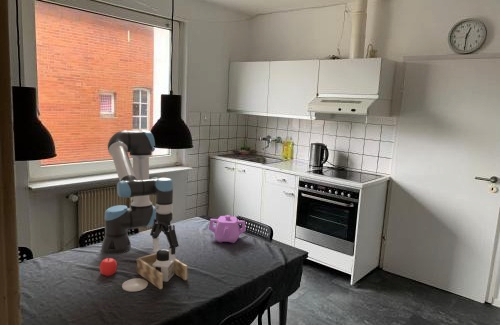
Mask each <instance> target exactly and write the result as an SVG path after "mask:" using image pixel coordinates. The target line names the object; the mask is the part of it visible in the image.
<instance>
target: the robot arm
mask: <svg viewBox="0 0 500 325" xmlns="http://www.w3.org/2000/svg"><path fill="white" fill-rule="evenodd" d="M155 141H156V140H155V137H154V134H153V133H152V131H149V130H143V129H141V130H120V131H117V132H116V133H114V134H113V135H111V137H110V138H109V140H108V142H107V151H108V153H109V155H110V156H111V157H112V161H113V163H114V166H115V171H116V174H117V177H118V179H119V181H118V182H117V183H116V191H117V192H116V193H117V196H118V197H119V198H132V199H133V201H132V202H130V207H128V206H127V205H124V204H123V205H121V204H119V205H112V206H110V207H109V208H107V209H105V211H104V238H103V241H102V244H101V251H102V253H105V254H110V255H111V254H112V255H115V254H116V255H117V254H118V255H119V254H123V253H126V252H129V251H130V250H131V247H132V244H131V241H130V237H129V234H128V233H129V232H128V230H134V229H141V228H144V229H145V228H147V227H151V231H150V234H149V235H150V236H151V237H152V244H153V245H152V250H153V251H152V252H153V253H157V252H158V251H159V250H160V235H161V233H163V234H164V235H165V236H166V239H167V242H168V245H169V247H168V250H169V261H173V260H175V259H176V248H178V247H179V242H178V236H177V233H176V226H175V224H173V225H172V224H171V221H172V220H173V210H174V205H173V204H174V203H173V201H174V200H173V198H174V196H173V194H174V181H173V179H172V178H169V177H156V176H154V177H151V178H150V157H151V156H152V154H153V152H155V150H156V142H155ZM154 146H155V148H153V147H154ZM128 153H129V154H128ZM130 158H132V162H131V159H130ZM150 196H155V205H153V202H152V201H151V200H150Z"/></svg>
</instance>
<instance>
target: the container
mask: <svg viewBox="0 0 500 325" xmlns="http://www.w3.org/2000/svg"><path fill="white" fill-rule="evenodd" d="M155 253H156V262H154V263H153V265H152V267H153V268H155V269H156V270H158V271H159V272H161V273H162V274H163V282H169V280H171V278H173V276H174V275H175V274H174V260H173V261H169V249H166V248H165V249H159V251H156V252H155Z"/></svg>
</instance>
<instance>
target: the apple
mask: <svg viewBox="0 0 500 325" xmlns="http://www.w3.org/2000/svg"><path fill="white" fill-rule="evenodd" d="M117 268H118V263H117V260H116V259H114V257H113V258H112V257H111V258H110V257H107V258H104V259H103V260H102V261H101V262H100V263H99V271H100V274H102V275H103V276H107V277H109V276H113V275H114V274H115V273H116V271H117Z"/></svg>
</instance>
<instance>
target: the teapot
mask: <svg viewBox="0 0 500 325" xmlns="http://www.w3.org/2000/svg"><path fill="white" fill-rule="evenodd" d="M214 223H216V224H215V226H214ZM240 225H241V227H240ZM208 230H209V231H211V232H212V233H214V237H215V238H214V239H215V241H217V243H219V244H221V243H223V242H224V243H231V244H235V243H236V242H237V241H238V240H239V237H240V235H241V234H243V233H245V232H246V220H239V219H238V218H237V217H236V216H231V215H230V214H226V215H220V216H219V217H218V218H210V220H209V226H208Z"/></svg>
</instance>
